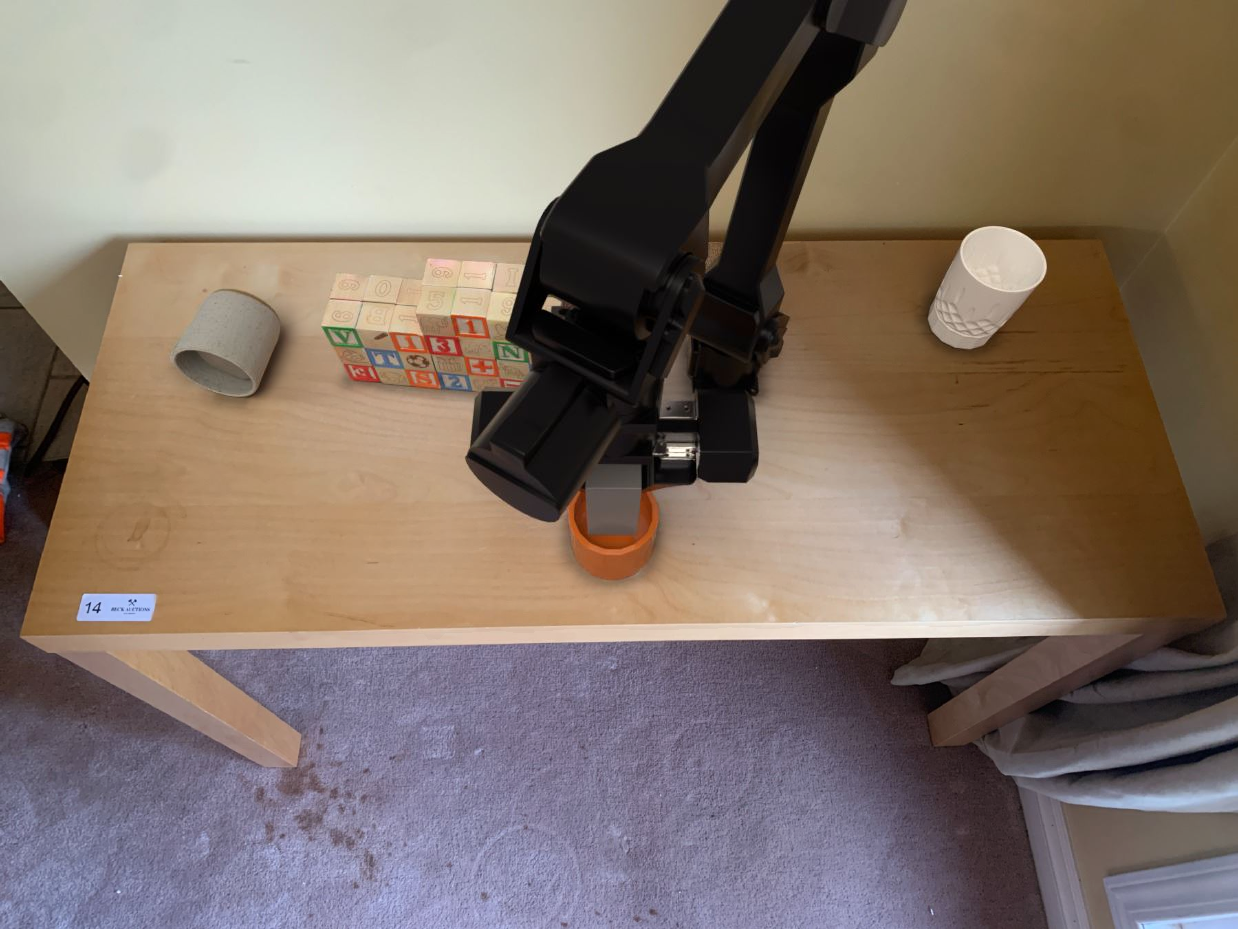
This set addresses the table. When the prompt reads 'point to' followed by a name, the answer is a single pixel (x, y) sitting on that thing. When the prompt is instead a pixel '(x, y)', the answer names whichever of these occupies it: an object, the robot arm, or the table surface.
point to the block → (613, 499)
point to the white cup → (985, 285)
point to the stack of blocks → (430, 326)
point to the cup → (613, 541)
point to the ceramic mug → (228, 343)
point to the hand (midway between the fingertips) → (613, 486)
